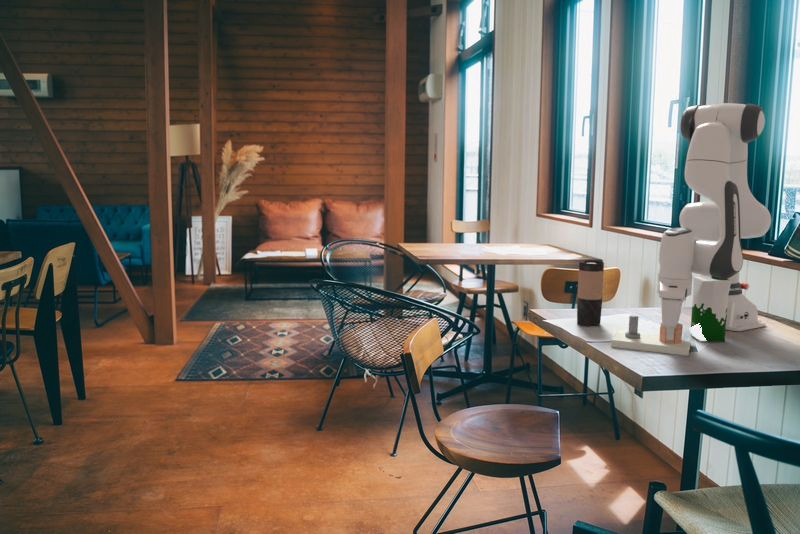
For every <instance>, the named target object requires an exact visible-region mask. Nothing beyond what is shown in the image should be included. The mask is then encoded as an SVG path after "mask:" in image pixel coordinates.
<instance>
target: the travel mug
mask: <svg viewBox="0 0 800 534" xmlns="http://www.w3.org/2000/svg"><path fill="white" fill-rule="evenodd" d="M604 265H605V263H604V261H601V260H585V261H584V262H581V261H579V263H578V281H577V302H576V303H577V304H576V305H577V307H576V311H577V312H576V314H577V315H576V318H577V319H576V323H577V325H579V326H583V327H589V326H595V327H599V326H600V325H601V318H602V317H601V316H602V310H603V309H602V307H603V306H602V305H603V293H604V292H603V291H604V268H605V266H604Z"/></svg>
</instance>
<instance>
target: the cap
mask: <svg viewBox="0 0 800 534" xmlns="http://www.w3.org/2000/svg"><path fill="white" fill-rule="evenodd" d="M659 335H660V339H659V341H661V342H664V343H670V344H678V343H681V341H682V337H683V324H682V323H679V322H678V325H677V327H676V328H675V330H674V339H673V340H668V339H667V338H666V337H667V330H666V327H664V326H663V324H662V322H660V327H659Z"/></svg>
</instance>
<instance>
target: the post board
mask: <svg viewBox="0 0 800 534" xmlns="http://www.w3.org/2000/svg"><path fill="white" fill-rule="evenodd" d="M628 317H629V319H628V330H627V331H626V330H617V331H616V332H615V333H614V335H613V337H612V338H611V341H610V347H611V348H618V349H627V350H636V351H644V352H654V353H661V354H662V353H663V354H670V355H671V354H672V355H680V356H689V354H690V349H691V343H690V341H685V340H682V341H681V343H678V344H670V343H664V342H661V341H659V339H660V334H656V333H655V334H654V333H646V332H638V330H639V329H638V328H639V316H638V315H635V314H634V315H629V316H628Z"/></svg>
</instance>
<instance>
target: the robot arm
mask: <svg viewBox="0 0 800 534" xmlns="http://www.w3.org/2000/svg"><path fill="white" fill-rule="evenodd" d="M765 123H766V118H765V114H764V110H763V108H762V107H761V106H760V105H757V104H754V103H746V104H744V103H735V102H734V103H732V102H731V103H729V102H724V103H714V104H713V103H711V104H705V105H700V104H696V105H692V106H689V107H687V108H686V109H685V110H684V111H683V113H682V115H681V119H680V123H679V127H680V134H681V136H682V138H684V139H685V140H686V141H688V143H689V146H688V150H687V154H686V159H685V165H684V166H685V167H684V181H685V183H686V185H687V186H688V188H689V189H690V190H692V192H694V193H696V194H697V195H699V196H702V197H704V198H706V199H708V200H709V201H699V202H698V201H696V202H692V203H687V204H685V205H684V206H683V208H682V210H681V211H680V214H679V219H678V220H679V226H680V227H672V228H669V229H666V230H665V231H664V232H663V233H662V237H661V240H660V244H659V245H660V246H659V253H658V263H659V271H658V273H657V283H656V293H657V294H658V297H659V298H660V299H661V301H660V302H661V303H660V304H661V305H660V306H661V323H662V324H663V326H664V327H666V330H667V337H666V338H667V339H668V340H673V339H674V330H675V328H676V327H677V325H678V323H679V320H680V317H681V314H682V306H683V303H684V302H685V301H686V300H687V298H688V296H689V297H690V296H691V295H692V291H693V274H698V275H700V276H699V277H702V276H706V277H712V276H713V277H717V278H722V279H728V280H730V281H731V285H730V290H729V294H728V306H727V319H726V331H732V332H733V331H734V332H742V331H747V330H753V329H757V328H763V327H766V325H767V324H766V322H765V321H763V320H760V319H759V314H758V311H759V310H758V307H757V306H756V305H755V303H753V302H752V301H751V300H749V298H748V297H746V296H745V294H743V290H745V291H748V290H749V288H750V284H749V283H746V282H741V283H740V271H741V270H742V267H743V265H744V252H743V246H742V241H741V239H753V238H761V237H763V236H765V234H766V233H767V232H768V231H769V230H770V228H771V225H772V216H771V213H770V211H769V209H768V208H767V207H766V206H765V205H764V204H762V203H761V202H759V200H757V199H756V198H755V196H754V194H752V192H751V189H750V186H749V183H748V155H749V154H748V153H749V152H748V151H749V150H748V149H749V148H748V147H749V146H748V145H749V144H750V142H753V141H755V140H757V139H758V138H759V137H761V135H762V132H763V130H764V128H765Z"/></svg>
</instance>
